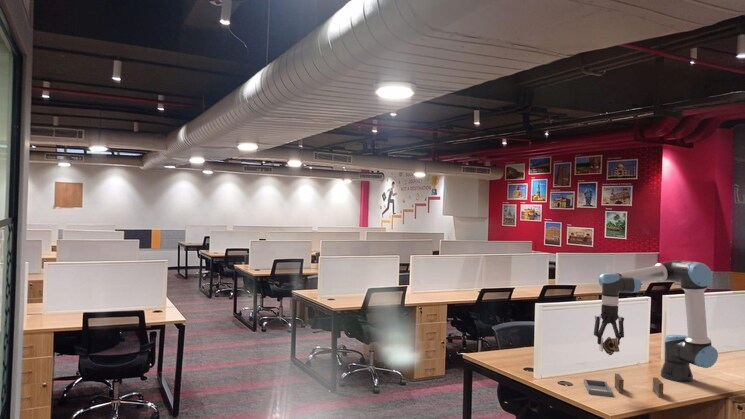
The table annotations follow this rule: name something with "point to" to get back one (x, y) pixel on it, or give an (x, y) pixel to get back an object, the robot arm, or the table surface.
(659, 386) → the cradle
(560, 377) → the table surface
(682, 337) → the robot arm
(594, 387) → the tray
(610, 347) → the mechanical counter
